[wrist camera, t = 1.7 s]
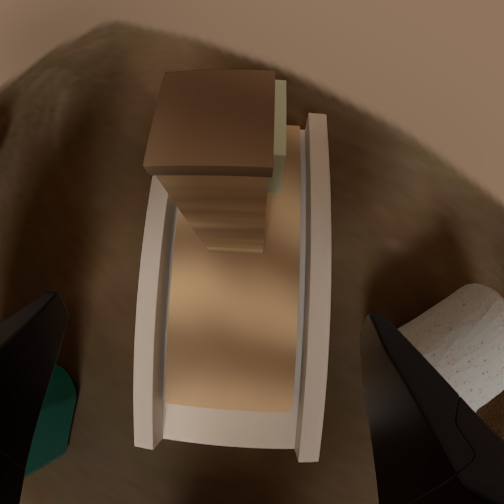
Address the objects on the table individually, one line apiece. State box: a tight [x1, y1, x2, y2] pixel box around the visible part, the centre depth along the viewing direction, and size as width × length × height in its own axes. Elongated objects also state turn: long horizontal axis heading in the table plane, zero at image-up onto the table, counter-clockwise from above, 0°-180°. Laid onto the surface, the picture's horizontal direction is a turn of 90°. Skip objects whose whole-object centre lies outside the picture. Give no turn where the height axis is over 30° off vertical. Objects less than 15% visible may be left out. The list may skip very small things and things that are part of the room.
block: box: [267, 80, 286, 194], centre depth 18 cm, size 5×5×5 cm
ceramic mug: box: [398, 283, 504, 413], centre depth 16 cm, size 11×8×8 cm
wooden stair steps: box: [143, 69, 301, 413], centre depth 14 cm, size 18×8×13 cm, turn 177°
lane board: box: [133, 113, 331, 462], centre depth 20 cm, size 22×11×3 cm, turn 177°
